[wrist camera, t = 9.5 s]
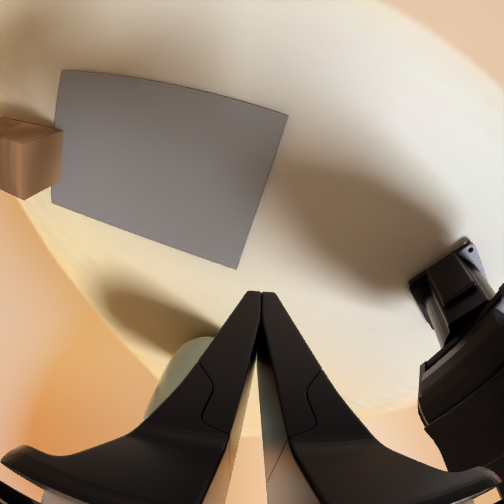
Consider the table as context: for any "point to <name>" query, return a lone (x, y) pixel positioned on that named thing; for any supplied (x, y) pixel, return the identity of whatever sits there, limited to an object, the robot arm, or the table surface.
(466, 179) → the table surface
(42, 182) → the block
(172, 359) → the cup
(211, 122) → the mat
